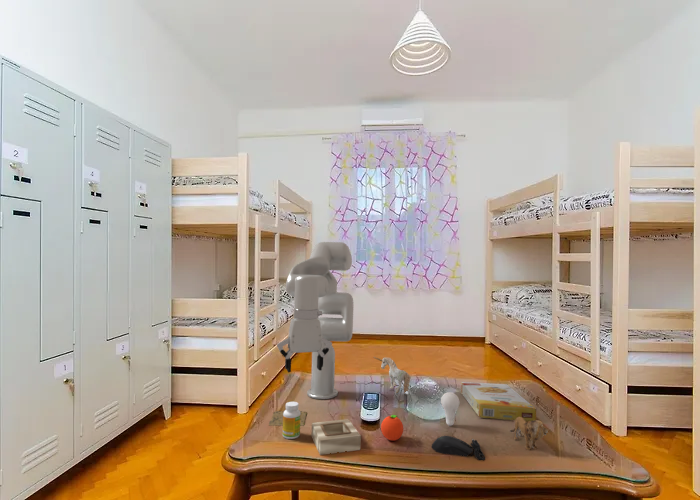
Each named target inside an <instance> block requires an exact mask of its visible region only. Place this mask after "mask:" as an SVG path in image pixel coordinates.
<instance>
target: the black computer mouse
mask: <svg viewBox="0 0 700 500" xmlns="http://www.w3.org/2000/svg"><path fill="white" fill-rule="evenodd" d="M481 448H482V447H481V445H480V442H478V440H477V439H474V438H471V443H470V444H469V443H467V442H466V441H464V440H462V439H460V438H457V437H454V436H452V435H442V436H439V437H437V438H435V440H433V442H432V444H431V449H432V450H433V451H435V452H436V453H439V454H442V455H443V454H444V455H451V456H452V455H453V456H461V457H468V456H469V455H470V457H473V455H474V458H476V460H477V461H481V460H483V461H484V460H485V459H486V456H485V454H484V452H483V451H482V449H481Z"/></svg>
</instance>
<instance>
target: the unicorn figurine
mask: <svg viewBox="0 0 700 500" xmlns="http://www.w3.org/2000/svg"><path fill="white" fill-rule="evenodd" d="M373 358H374V359H376V360H378V361H380V362H381V369H382V370H384V369H385V368H386V366H387V365H388V367H389V369H388V370H389V371H388V376H389V379H390V380H389V381H390V387H389V388H392V389H393V390H394V389H395V388H394V386H397V382H398V386H397V388H396V390H395V394H396V393H398V392H399V393H400V391H401V390H400V389H401V388H402V386H403V394H404V393H405V392H406V391H408V390H409V387H410V382H411V377H410V374H409V373H408V372H406V371H405V370H403V369H399V368H398V366H397V364H396V362H395V361H394V360H393V359H392V358H391V357H387V356H385V357H383V358H382V359H381V358H378V357H375V356H373ZM395 380H397V382H396V381H395ZM402 381H403V385H402Z"/></svg>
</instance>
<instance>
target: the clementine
mask: <svg viewBox="0 0 700 500" xmlns="http://www.w3.org/2000/svg"><path fill="white" fill-rule="evenodd" d="M380 429H381V433H382V435H383V437H384V438H385V439H386V440H389V441H398V440H399V439H400V438H401V437H402V436H403V434H404V424H403V422H402V420H401V419H400V418H399V417H398V415H395V414H392V415H389V416H386V417H385V418H384V419H383V420H382V421H381V424H380Z"/></svg>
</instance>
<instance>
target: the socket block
mask: <svg viewBox="0 0 700 500" xmlns="http://www.w3.org/2000/svg"><path fill="white" fill-rule="evenodd" d="M310 435H311V438H312V440H313V443H314V445H315V447H316V450H317V451H318V452H317V453H318V454H319V455H320V456H323V455H330V453H331V454H337V452H339V453H346V452H345V451H347V452H353V451H360V450H361V444H362V443H361V441H362V440H361V438H362V437H361V436H362V435H361V434H360V433H359V431H358V430H357V429H356V427H355V426H354V425H353V423H352V422H351V420H349V419H348V418H346V419H337V420H327V421H318V422H312V423H311V434H310Z"/></svg>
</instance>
